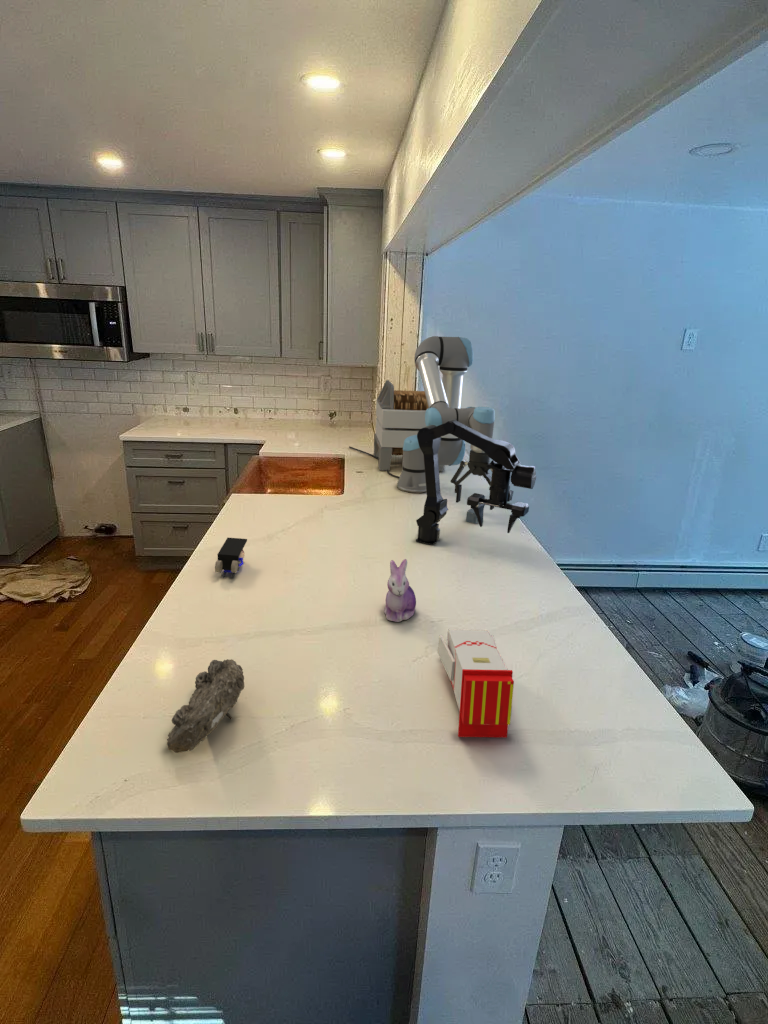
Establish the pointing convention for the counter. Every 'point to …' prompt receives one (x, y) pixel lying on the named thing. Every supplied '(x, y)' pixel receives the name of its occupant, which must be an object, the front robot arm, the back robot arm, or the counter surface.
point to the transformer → (397, 421)
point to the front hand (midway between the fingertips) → (494, 529)
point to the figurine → (399, 594)
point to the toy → (478, 682)
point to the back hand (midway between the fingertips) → (474, 505)
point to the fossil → (206, 705)
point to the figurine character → (230, 556)
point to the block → (471, 517)
